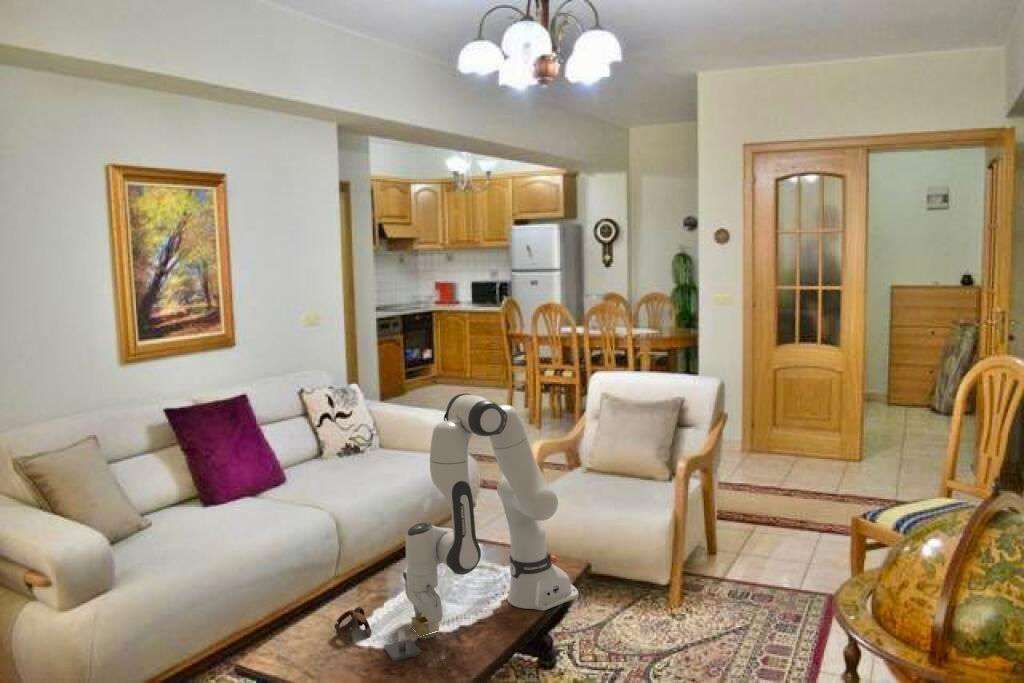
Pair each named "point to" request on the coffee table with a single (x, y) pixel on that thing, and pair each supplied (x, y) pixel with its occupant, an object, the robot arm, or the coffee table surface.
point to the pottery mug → (352, 622)
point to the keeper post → (402, 648)
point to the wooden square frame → (422, 625)
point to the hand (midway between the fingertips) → (425, 624)
